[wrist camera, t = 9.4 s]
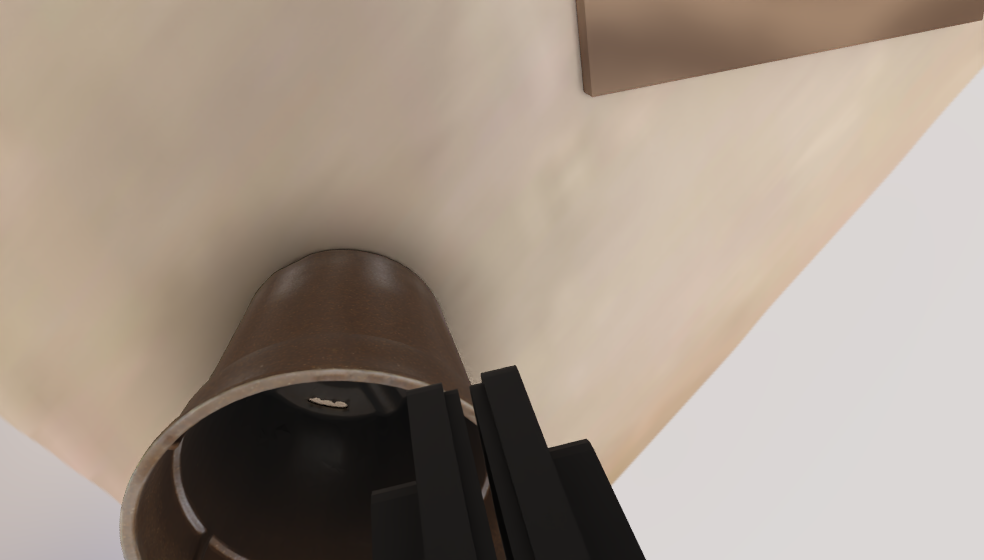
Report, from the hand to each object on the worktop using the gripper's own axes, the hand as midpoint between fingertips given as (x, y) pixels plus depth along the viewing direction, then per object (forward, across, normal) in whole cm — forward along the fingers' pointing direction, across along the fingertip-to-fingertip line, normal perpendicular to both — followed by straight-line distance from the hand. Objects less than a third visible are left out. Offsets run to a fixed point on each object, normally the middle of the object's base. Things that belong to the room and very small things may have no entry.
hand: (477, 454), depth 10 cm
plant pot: (+29, +6, +14) cm, 33 cm away
